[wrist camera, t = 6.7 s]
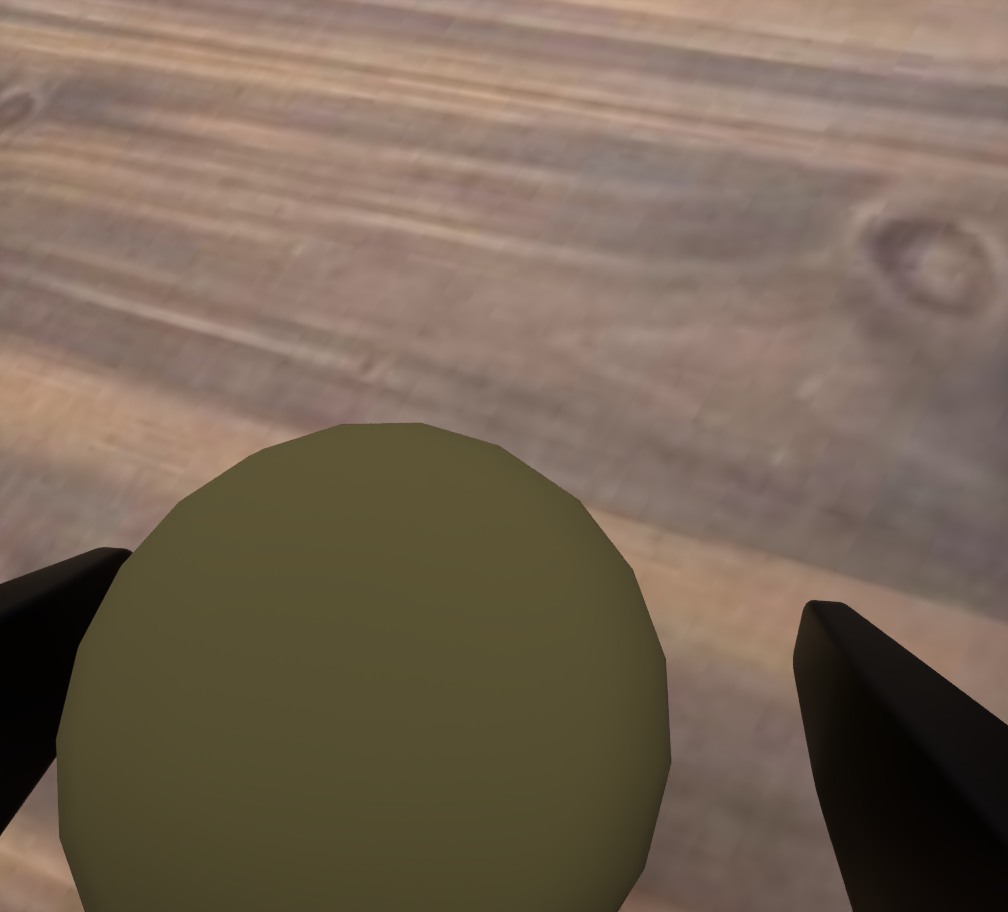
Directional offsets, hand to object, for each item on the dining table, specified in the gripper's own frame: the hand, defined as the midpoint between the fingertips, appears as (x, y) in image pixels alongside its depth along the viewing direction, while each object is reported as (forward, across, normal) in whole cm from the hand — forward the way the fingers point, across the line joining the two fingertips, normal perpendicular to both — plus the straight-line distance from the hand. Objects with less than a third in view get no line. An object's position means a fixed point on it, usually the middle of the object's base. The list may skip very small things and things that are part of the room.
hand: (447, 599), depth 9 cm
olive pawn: (+4, 0, +6) cm, 7 cm away
